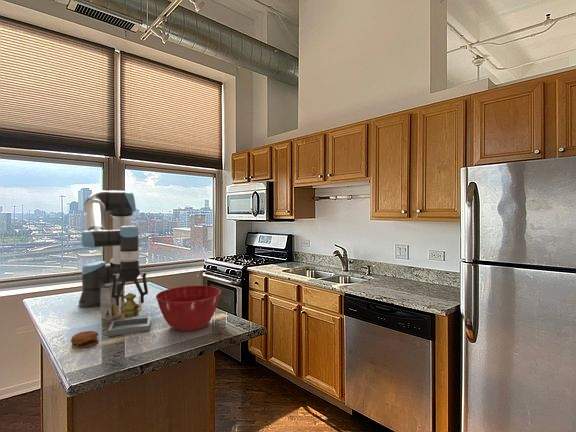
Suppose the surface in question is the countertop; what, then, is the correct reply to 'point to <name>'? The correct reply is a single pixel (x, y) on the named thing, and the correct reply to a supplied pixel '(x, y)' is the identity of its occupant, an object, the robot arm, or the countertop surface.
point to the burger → (84, 339)
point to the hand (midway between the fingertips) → (130, 311)
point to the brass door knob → (130, 307)
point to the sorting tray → (129, 326)
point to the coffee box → (110, 301)
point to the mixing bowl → (188, 306)
